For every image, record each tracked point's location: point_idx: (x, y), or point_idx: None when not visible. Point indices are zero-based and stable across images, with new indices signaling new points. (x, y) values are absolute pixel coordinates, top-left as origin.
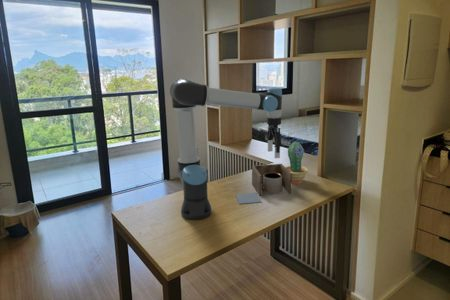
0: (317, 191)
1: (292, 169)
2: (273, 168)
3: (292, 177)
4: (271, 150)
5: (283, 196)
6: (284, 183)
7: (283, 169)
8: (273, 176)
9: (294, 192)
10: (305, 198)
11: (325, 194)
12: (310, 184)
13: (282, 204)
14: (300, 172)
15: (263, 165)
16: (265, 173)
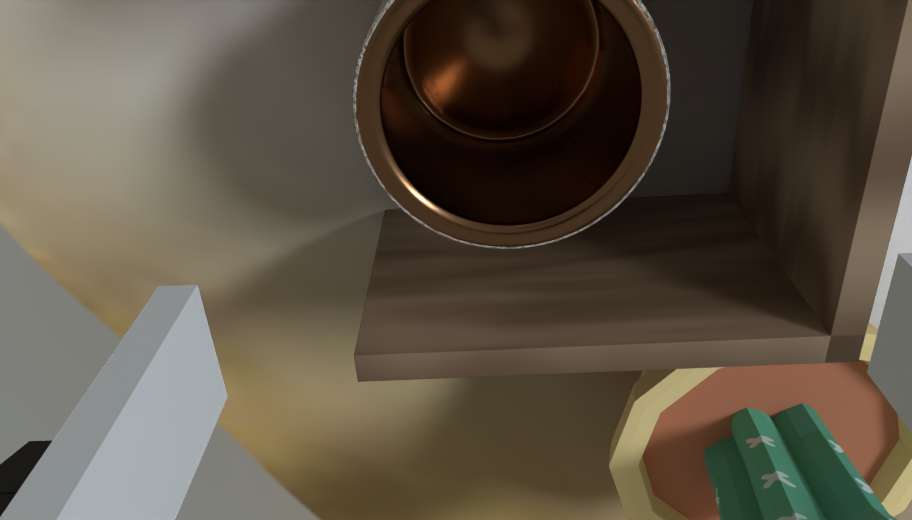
0: (423, 459)
1: (755, 429)
2: (825, 200)
3: None
4: (887, 363)
5: (320, 134)
6: None
7: (651, 324)
8: (615, 131)
9: None
10: (265, 325)
11: (351, 491)
12: (599, 457)
13: (98, 67)
14: (639, 477)
15: (901, 35)
16: (630, 7)
